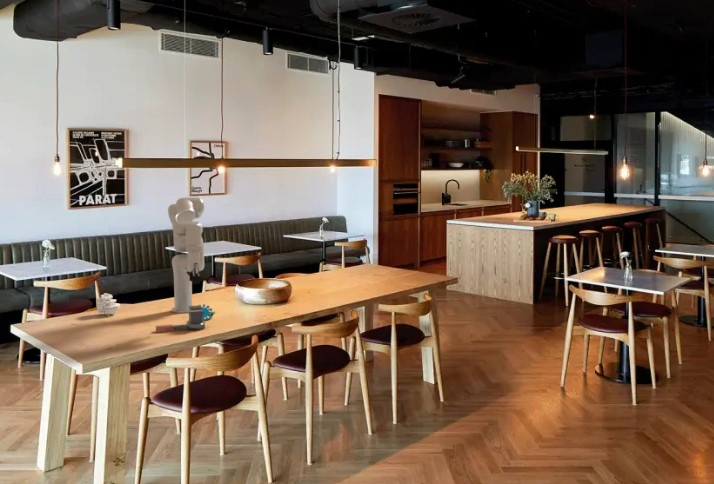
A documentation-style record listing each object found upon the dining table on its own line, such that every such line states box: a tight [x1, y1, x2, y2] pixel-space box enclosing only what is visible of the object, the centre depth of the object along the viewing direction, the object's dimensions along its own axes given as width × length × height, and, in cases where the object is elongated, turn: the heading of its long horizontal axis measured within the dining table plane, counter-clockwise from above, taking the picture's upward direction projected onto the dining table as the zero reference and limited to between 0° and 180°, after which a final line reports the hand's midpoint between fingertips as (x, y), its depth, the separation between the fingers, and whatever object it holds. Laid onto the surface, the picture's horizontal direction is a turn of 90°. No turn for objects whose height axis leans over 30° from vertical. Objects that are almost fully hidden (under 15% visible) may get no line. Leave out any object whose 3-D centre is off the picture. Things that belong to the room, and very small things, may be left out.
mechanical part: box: [96, 292, 121, 317], centre depth 350 cm, size 11×12×12 cm
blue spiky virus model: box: [199, 304, 216, 321], centre depth 343 cm, size 11×6×10 cm
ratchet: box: [155, 320, 206, 334], centre depth 319 cm, size 9×24×7 cm, turn 113°
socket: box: [188, 304, 203, 324], centre depth 322 cm, size 6×6×8 cm
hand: (194, 282), depth 320 cm, fingers open, 9 cm apart
